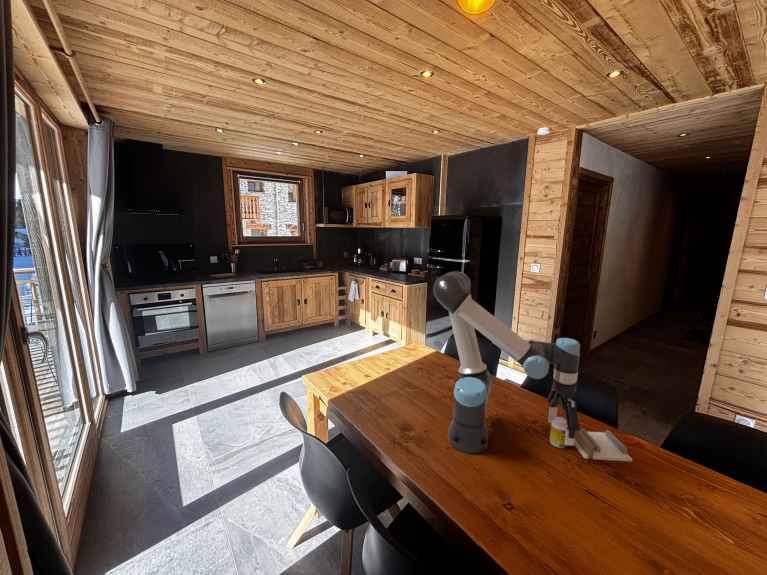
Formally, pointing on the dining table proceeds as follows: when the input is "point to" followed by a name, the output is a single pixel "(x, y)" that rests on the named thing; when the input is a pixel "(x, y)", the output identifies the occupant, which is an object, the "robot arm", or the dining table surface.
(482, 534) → the dining table surface
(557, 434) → the supplement bottle
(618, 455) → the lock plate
